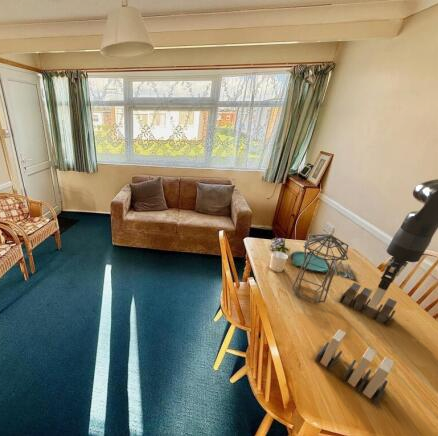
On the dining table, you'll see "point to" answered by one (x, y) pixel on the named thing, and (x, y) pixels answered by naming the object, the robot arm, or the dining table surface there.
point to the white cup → (278, 261)
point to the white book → (377, 296)
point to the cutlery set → (316, 263)
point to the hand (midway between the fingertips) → (385, 284)
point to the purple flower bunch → (279, 243)
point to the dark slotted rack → (358, 367)
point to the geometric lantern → (333, 240)
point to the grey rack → (362, 298)
